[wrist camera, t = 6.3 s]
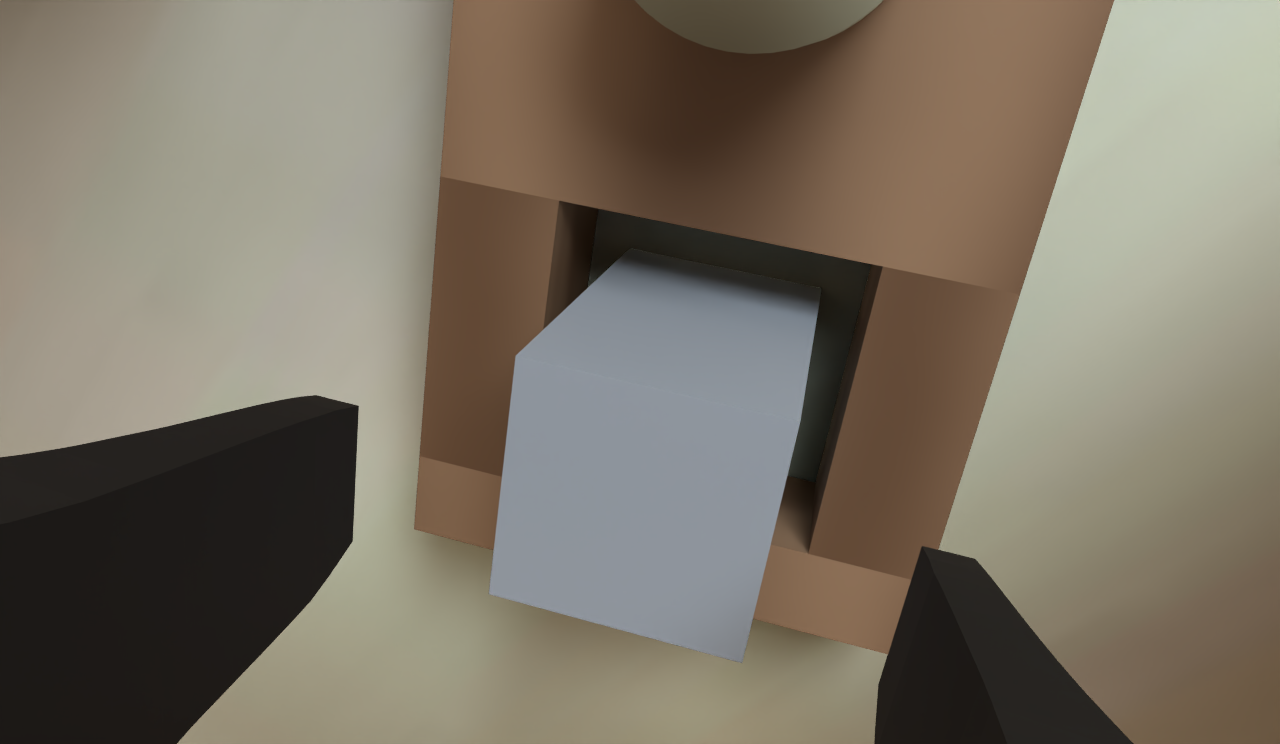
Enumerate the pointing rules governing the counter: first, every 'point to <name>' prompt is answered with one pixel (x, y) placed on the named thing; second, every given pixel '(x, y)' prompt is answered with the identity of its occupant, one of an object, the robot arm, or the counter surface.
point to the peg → (655, 450)
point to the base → (759, 230)
